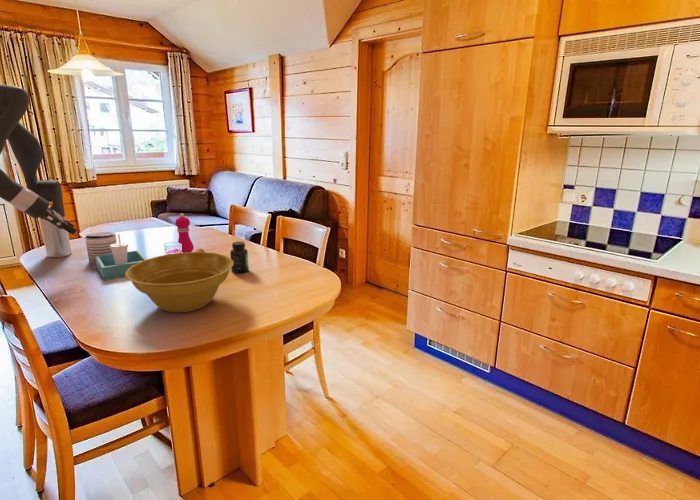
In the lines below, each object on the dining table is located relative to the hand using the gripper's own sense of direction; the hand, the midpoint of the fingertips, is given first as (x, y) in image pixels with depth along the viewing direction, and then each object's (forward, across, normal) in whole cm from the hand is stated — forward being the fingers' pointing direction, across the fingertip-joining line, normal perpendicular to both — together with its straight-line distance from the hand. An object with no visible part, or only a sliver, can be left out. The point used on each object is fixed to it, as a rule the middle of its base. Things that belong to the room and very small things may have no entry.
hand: (73, 230), depth 156 cm
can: (+20, +17, +6) cm, 28 cm away
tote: (+23, -3, +3) cm, 23 cm away
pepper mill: (+42, +1, -15) cm, 44 cm away
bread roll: (+40, -21, -14) cm, 47 cm away
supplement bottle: (+49, -31, -24) cm, 63 cm away
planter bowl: (+29, -52, -4) cm, 60 cm away
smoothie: (+22, -2, +2) cm, 22 cm away
